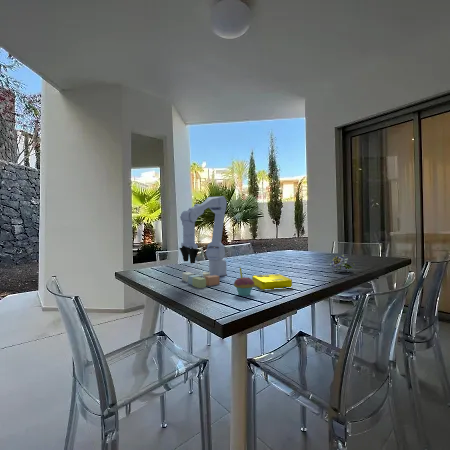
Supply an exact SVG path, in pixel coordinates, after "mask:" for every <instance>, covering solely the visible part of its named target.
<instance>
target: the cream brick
mask: <svg viewBox="0 0 450 450" xmlns="http://www.w3.org/2000/svg"><path fill="white" fill-rule="evenodd" d="M205 276H210V272H209V271H203V272H202V278H205Z"/></svg>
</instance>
